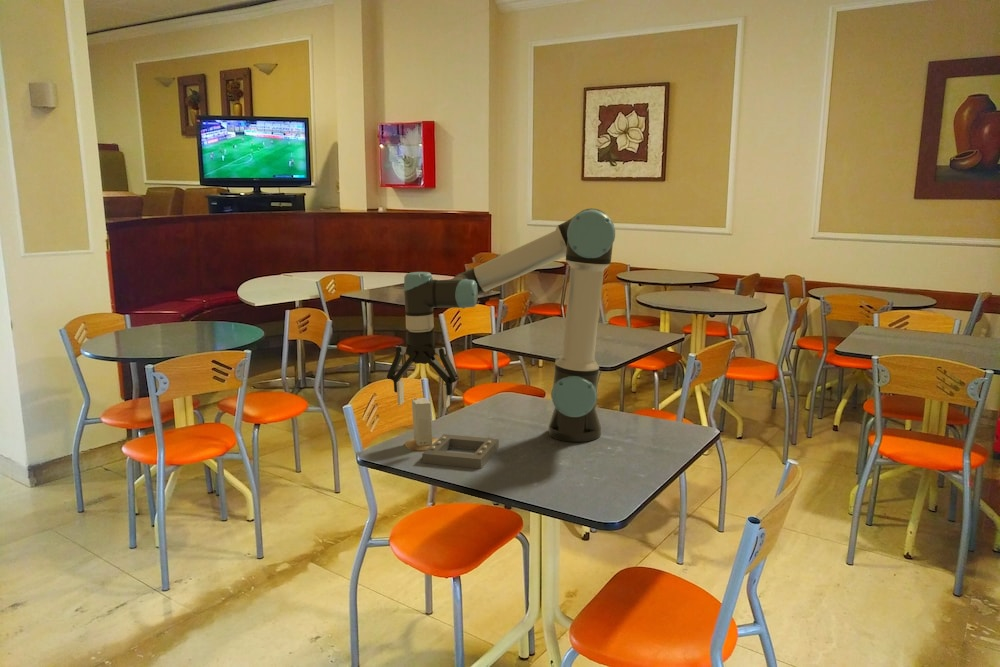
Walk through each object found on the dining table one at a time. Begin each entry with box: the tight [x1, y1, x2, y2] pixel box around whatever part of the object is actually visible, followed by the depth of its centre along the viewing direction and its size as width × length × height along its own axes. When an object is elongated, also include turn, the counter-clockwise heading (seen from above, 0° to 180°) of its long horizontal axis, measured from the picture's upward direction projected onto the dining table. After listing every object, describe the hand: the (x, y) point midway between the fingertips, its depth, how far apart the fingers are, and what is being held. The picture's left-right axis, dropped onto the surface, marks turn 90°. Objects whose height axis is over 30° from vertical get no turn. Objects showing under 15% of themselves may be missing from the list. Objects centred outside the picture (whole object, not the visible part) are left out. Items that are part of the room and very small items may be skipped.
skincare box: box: [411, 397, 433, 446], centre depth 206 cm, size 6×4×12 cm
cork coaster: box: [404, 436, 439, 452], centre depth 207 cm, size 10×10×1 cm
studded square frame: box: [422, 434, 500, 469], centre depth 199 cm, size 16×16×3 cm
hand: (423, 405), depth 205 cm, fingers open, 13 cm apart
